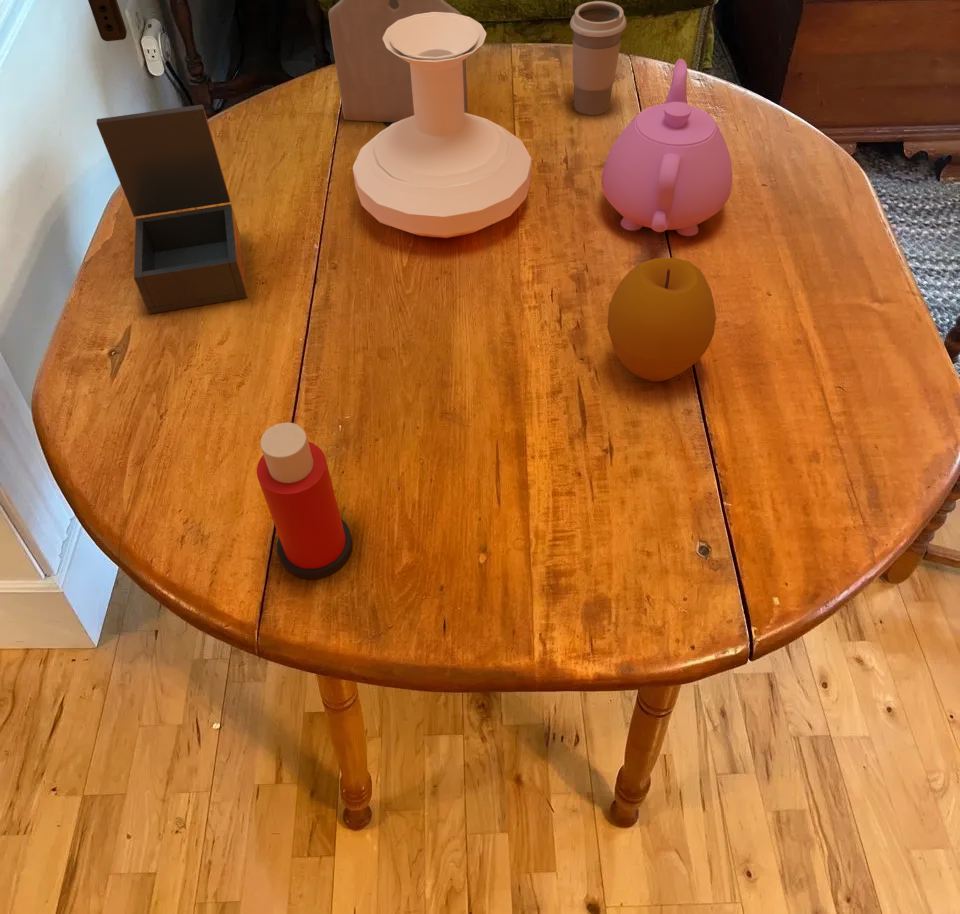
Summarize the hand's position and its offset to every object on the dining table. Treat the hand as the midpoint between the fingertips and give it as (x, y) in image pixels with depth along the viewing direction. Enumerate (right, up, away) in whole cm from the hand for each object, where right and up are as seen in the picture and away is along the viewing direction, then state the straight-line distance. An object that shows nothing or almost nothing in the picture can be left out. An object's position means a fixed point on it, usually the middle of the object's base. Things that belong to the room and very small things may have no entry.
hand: (118, 17), depth 80 cm
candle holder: (+29, -11, +21) cm, 38 cm away
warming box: (+3, -21, +14) cm, 25 cm away
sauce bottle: (+20, -47, -9) cm, 52 cm away
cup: (+48, +5, +34) cm, 59 cm away
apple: (+50, -32, +4) cm, 59 cm away
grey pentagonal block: (+24, +6, +35) cm, 43 cm away
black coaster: (+20, -48, -9) cm, 52 cm away
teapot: (+54, -12, +20) cm, 59 cm away
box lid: (+2, -11, +8) cm, 14 cm away
